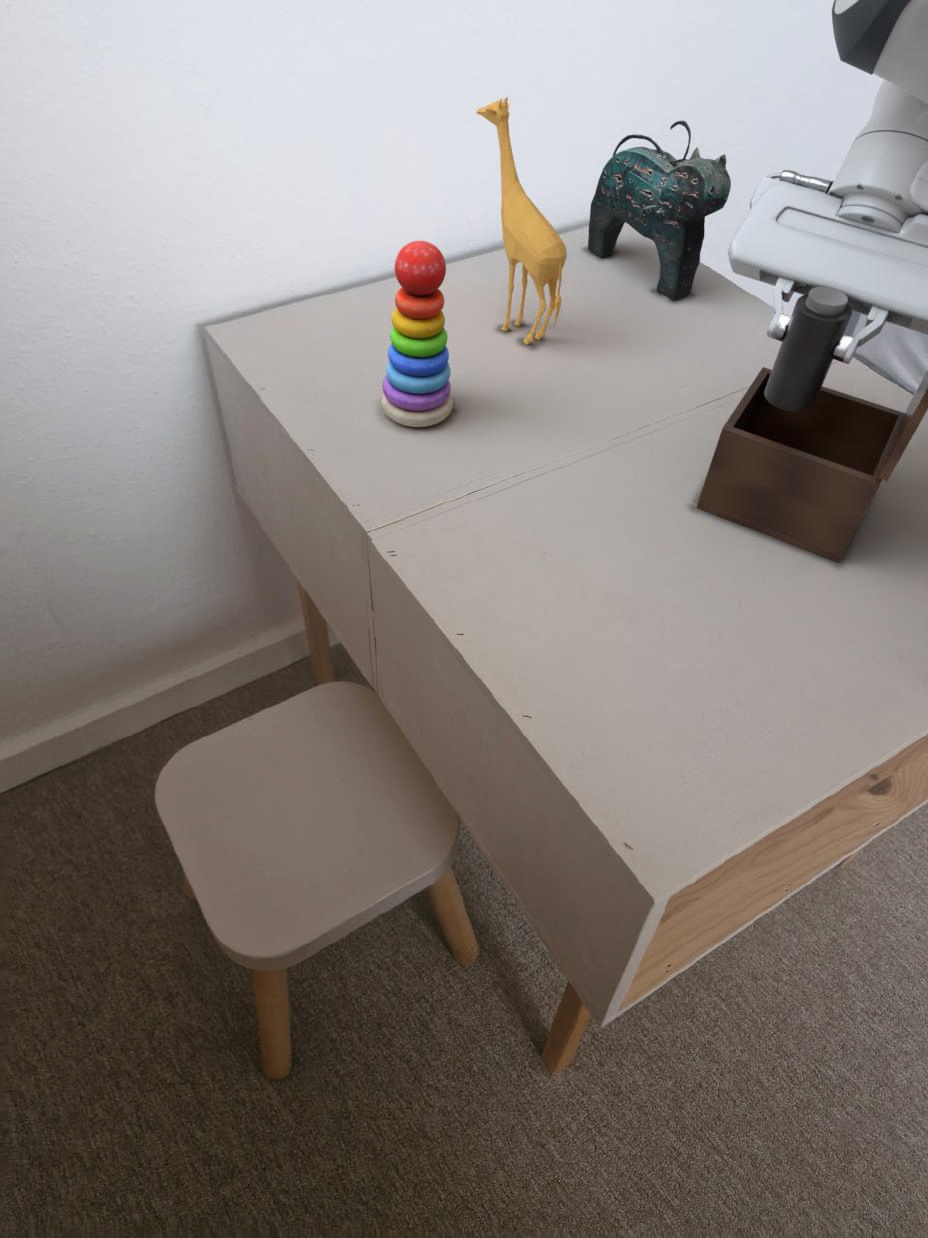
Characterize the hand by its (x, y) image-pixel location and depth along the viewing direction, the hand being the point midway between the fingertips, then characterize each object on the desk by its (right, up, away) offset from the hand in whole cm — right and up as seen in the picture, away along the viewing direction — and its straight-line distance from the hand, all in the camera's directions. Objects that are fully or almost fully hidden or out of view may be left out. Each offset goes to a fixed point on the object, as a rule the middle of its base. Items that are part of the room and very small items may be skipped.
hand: (807, 348), depth 74 cm
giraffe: (-24, +14, +35) cm, 44 cm away
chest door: (+10, -2, -2) cm, 10 cm away
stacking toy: (-35, 0, +22) cm, 41 cm away
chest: (+3, -11, +14) cm, 18 cm away
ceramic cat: (-6, +25, +45) cm, 52 cm away
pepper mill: (0, -3, +4) cm, 5 cm away
